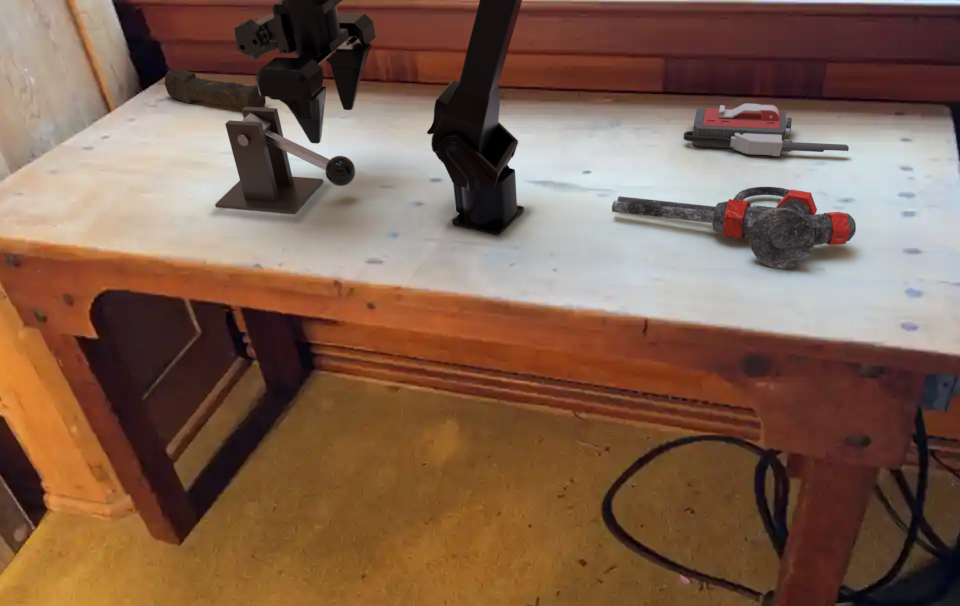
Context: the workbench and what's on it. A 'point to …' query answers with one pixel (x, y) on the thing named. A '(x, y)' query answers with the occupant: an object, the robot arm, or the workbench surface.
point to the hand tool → (211, 90)
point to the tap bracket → (263, 169)
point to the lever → (310, 155)
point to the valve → (759, 222)
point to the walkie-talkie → (749, 130)
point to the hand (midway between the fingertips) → (332, 125)
